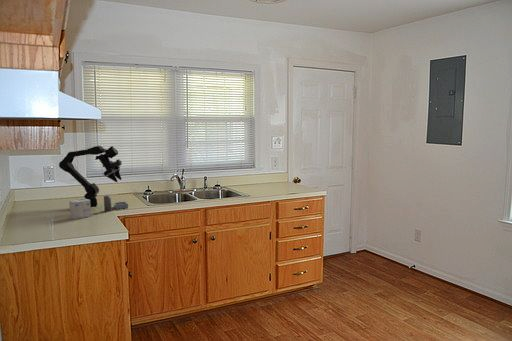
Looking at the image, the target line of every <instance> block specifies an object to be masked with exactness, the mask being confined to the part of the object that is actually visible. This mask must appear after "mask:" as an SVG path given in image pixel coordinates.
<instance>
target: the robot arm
mask: <svg viewBox="0 0 512 341" xmlns="http://www.w3.org/2000/svg"><path fill="white" fill-rule="evenodd" d="M86 155H92V156H93V155H95V158H94V160H95V161H97V160H98V161H100V163H101V165H102V167H103V168H104V169H105V171H103V176H104V177H106V178H108V179H110V180H111V181H113V182H115V183H118V180H120V181H121V180H122V176H121V173H120V170H121V167H120V166H122V162H123V161H121V160H120V159H116V160H115V161H113V160H110V159H113V158H115V157H116V156H117V155H119V151H118V149H117V148H115V147H114V146H113V145H111V146H110V147H108V148H104V147H103V146H101V145H95V146H92V147H90V148H86V149H80V150H75V151H69V152H67V154H66V155H65V157H64V158H62V160H61V161H60V162H59V163H58V166H59V167H58V168H59V169H61V170H63V171H64V172H67V173H68V174H69V175H71V177H73V178H74V179H75V180H76V181H77V182H78V183H79V184H80V185H81V186H82V187H83V188H84V190H85V192H86V193H85V194H84V195H83V197H84V199H90V206H91V208H93V207H97V206H98V199H97V196H98V195H99V193H100V188H99V186H97V185H96V183H95V182H93V183H91V182H89V181H88V179H86V178H85V177H84V176H83V175H82V174H81V173H80V172H79V171H78V170H77V169H75V166H74V164H73V161H74V159H75V157H81V156H86Z"/></svg>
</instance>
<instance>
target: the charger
mask: <svg viewBox="0 0 512 341" xmlns="http://www.w3.org/2000/svg"><path fill="white" fill-rule="evenodd" d="M103 206H104V210H103V211H104V213H108V212H112V196H111V195H104V196H103Z"/></svg>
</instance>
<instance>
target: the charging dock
mask: <svg viewBox="0 0 512 341" xmlns="http://www.w3.org/2000/svg"><path fill="white" fill-rule="evenodd" d="M113 208H114V210H123V209H122V208H125V209H128V208H129V204H128V202H127V201H119V202H117V201H116V202H113Z"/></svg>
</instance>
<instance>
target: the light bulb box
mask: <svg viewBox="0 0 512 341" xmlns="http://www.w3.org/2000/svg"><path fill="white" fill-rule="evenodd" d="M68 203H69V204H68V205H69V213H70V214H69V215H70V219H72V218H73V219H72V220H79V219H84V218H88V217H91V216H92V207H91V206H90V199H85V198H79V199H76V200H69V202H68ZM78 218H79V219H78Z"/></svg>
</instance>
